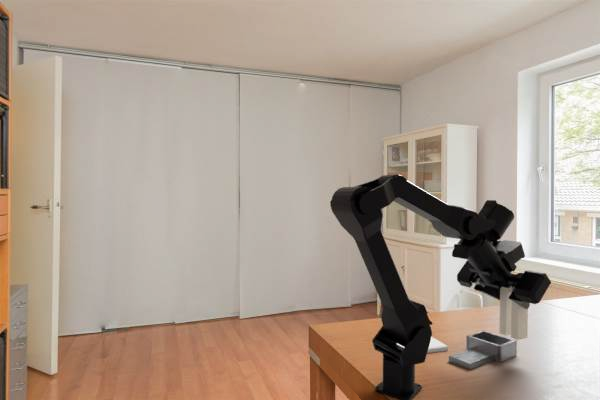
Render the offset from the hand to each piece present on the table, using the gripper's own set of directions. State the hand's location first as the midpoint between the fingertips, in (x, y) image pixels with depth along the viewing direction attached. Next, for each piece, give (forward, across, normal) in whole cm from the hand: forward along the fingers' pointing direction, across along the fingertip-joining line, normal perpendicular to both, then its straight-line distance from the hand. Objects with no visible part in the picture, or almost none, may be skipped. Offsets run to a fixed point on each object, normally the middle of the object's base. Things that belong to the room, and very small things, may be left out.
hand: (517, 304), depth 86 cm
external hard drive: (-2, +15, +20) cm, 25 cm away
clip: (+4, 0, +6) cm, 7 cm away
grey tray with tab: (+4, +4, +13) cm, 14 cm away
